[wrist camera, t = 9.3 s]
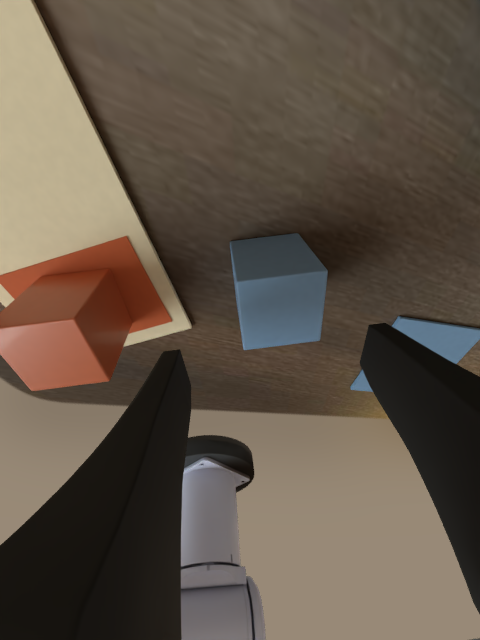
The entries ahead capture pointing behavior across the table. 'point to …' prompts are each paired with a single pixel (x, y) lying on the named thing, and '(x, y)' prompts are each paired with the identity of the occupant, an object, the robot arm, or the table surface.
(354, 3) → the table surface
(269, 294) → the slate block
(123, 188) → the sorting mat
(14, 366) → the terracotta block
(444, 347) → the blue pad
